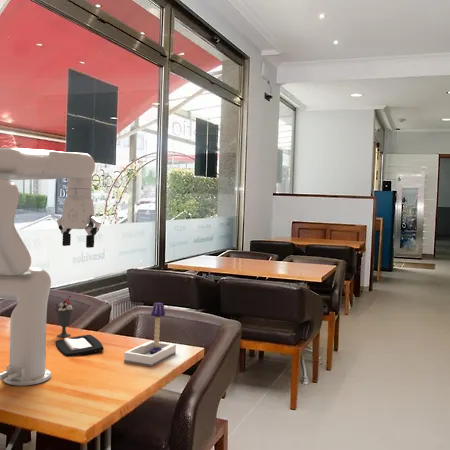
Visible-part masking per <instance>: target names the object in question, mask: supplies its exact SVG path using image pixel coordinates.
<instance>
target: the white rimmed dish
mask: <svg viewBox="0 0 450 450" xmlns="http://www.w3.org/2000/svg"><path fill="white" fill-rule="evenodd" d="M176 346H177V345H176V344H173V343H169V342H168V343H167V342H162V341H161V342H160V341H159V347H160V348H161V351H159V352H157V353H155V354H151V353H150V350H151V348H153V347H154V340H148V341H147V342H144V343H142V344H140V345H138V346H137V345H136V347H133V348H131V349H129V350H127V351H124V355H123V363H130V364H134V365H135V364H137V365H141V366H147V367H153V366H155V365H157V364H159V363H160V362H163V361H164V360H166V359H168V358H169V357H172V356H173V355H175V354H176V352H177V351H176V348H177V347H176Z"/></svg>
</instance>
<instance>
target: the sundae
mask: <svg viewBox="0 0 450 450" xmlns="http://www.w3.org/2000/svg"><path fill="white" fill-rule="evenodd" d="M71 297H72V296H71V295H69V296H68V297H67V298H66V299H64V300H63V301H62V302H60V303H59V305H58V303H55V306H56V308H54V311H55V312H56V315H57V321H58V325H59V326H60V327H61V333H59V334H57V335H56V338H59V339H60V338H61V339H65V338H71V337H72V336H71V333H70V334H69V333H67V332H66V328H67V326H69V324H71V323H70V322H71V317H72V312H73V311H74V310H75V309H74V308H73V307H72V305H71V302H70V301H69V300H70V298H71Z"/></svg>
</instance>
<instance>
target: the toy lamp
mask: <svg viewBox="0 0 450 450" xmlns="http://www.w3.org/2000/svg"><path fill="white" fill-rule="evenodd" d="M165 311H166V310H165V307H164V303H162V302H154V303H153V305H152V310H151V314H150V315H151V316H153V317H154V334H153V336H154V339H153V341H154V347H153V348H151V350H150V353H151V354H155V353H157V352H159V351H161V348H160V347H159V342H160V337H161V336H160V332H161V330H160V328H161V325H160V324H161V317H164V316H166V312H165Z"/></svg>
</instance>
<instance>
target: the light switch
mask: <svg viewBox="0 0 450 450" xmlns="http://www.w3.org/2000/svg"><path fill="white" fill-rule="evenodd" d="M55 346H56V349H58V351H59V352H60V353H61V355H63V356H65V357H77V356H83V355H89V354H92V353H97V352H100V351H104V350H105V349H104V345H103V344H102V342H101V341H100V340H99V339H98V338H97V337H95V336H94V335H92V334H84V335H78V336H70V337H65V338H61V339H57V340H55Z"/></svg>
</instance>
